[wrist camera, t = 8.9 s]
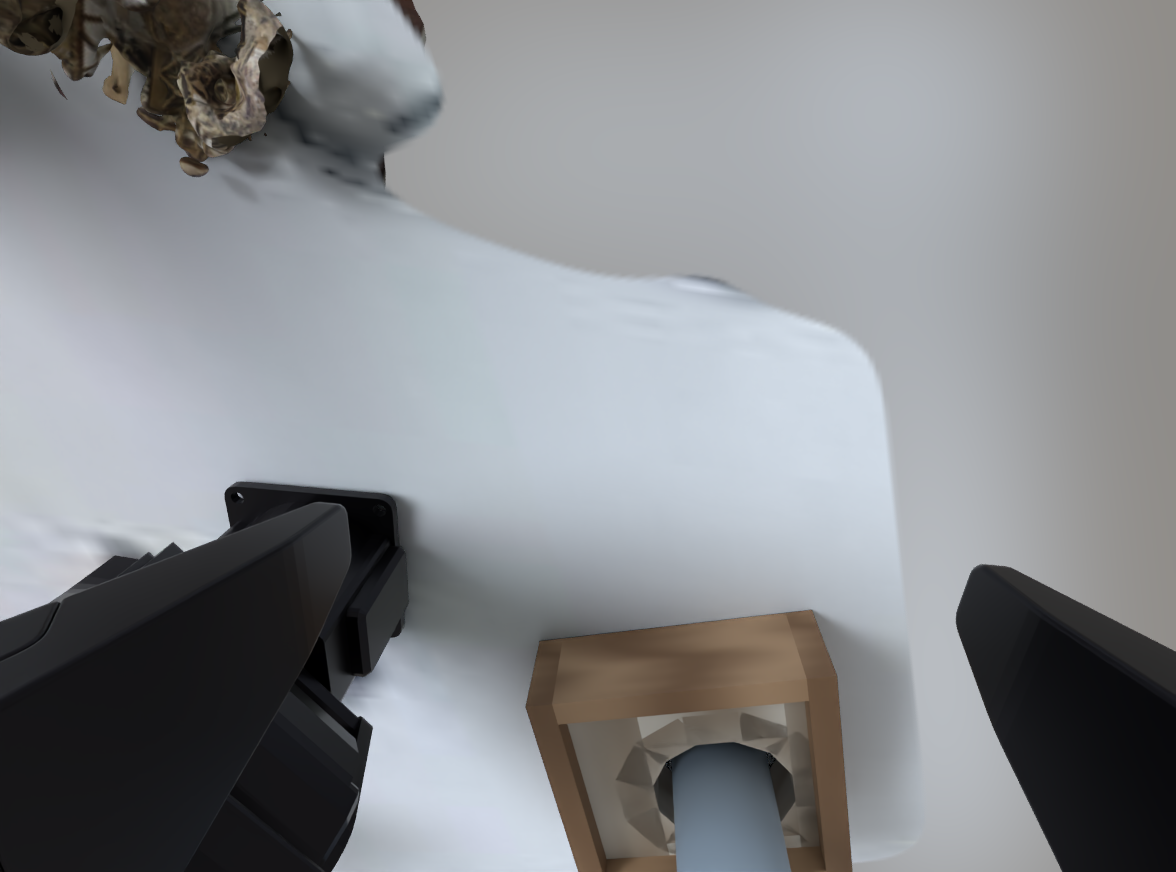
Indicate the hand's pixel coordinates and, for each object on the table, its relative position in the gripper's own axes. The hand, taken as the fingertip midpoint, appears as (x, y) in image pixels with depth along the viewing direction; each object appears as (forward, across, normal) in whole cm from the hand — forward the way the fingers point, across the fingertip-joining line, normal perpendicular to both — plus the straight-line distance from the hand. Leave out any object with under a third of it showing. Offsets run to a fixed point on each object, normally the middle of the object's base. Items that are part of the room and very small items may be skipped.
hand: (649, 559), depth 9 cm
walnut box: (+13, -4, +17) cm, 22 cm away
